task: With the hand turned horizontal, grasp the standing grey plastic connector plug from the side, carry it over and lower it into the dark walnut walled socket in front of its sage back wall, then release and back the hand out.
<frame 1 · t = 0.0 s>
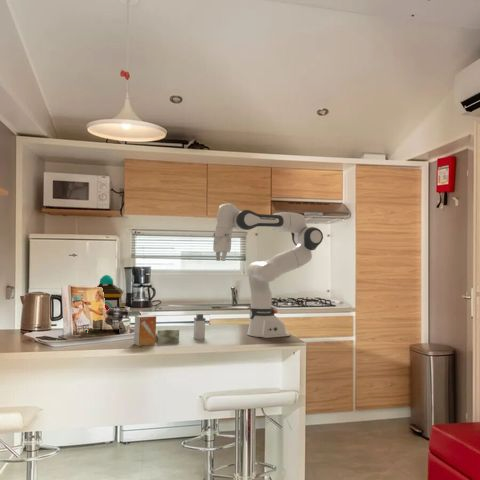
hand: (220, 260, 231), 39 cm above the counter, tool pointing down, fingers open, 8 cm apart
small box: (144, 344, 205), on the counter
decorative lantern: (104, 331, 239), on the counter
connector: (199, 338, 223), on the counter
socket: (166, 341, 214), on the counter
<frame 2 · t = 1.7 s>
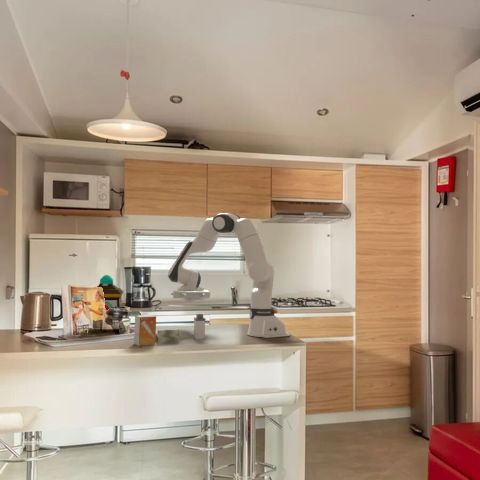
hand: (194, 295, 236), 20 cm above the counter, tool horizontal, fingers open, 8 cm apart
nothing on the counter moved.
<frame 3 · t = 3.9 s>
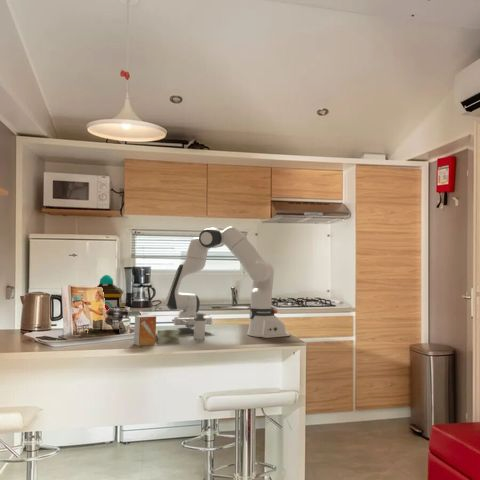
hand: (195, 322, 231), 6 cm above the counter, tool horizontal, fingers open, 8 cm apart
nothing on the counter moved.
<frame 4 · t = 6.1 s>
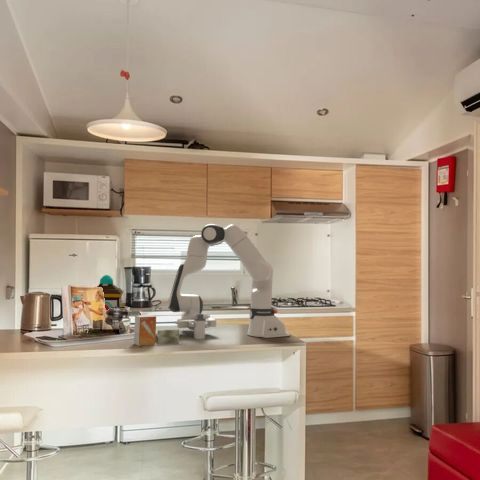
hand: (199, 325, 223), 7 cm above the counter, tool horizontal, fingers closed on connector, 4 cm apart
connector: (199, 338, 223), on the counter, touching gripper
everything else where it was.
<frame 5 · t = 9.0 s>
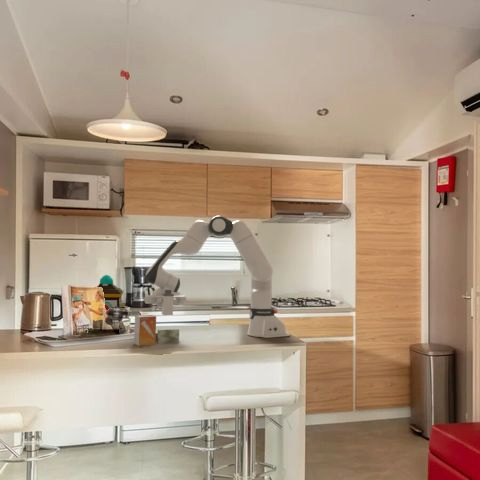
hand: (167, 301, 214), 19 cm above the counter, tool horizontal, fingers closed on connector, 4 cm apart
connector: (167, 314, 215), point 13 cm above the counter, touching gripper
everything else where it was.
when the fingers open (8 cm above the counter, at t = 11.9 s): connector drops 1 cm, resting on socket.
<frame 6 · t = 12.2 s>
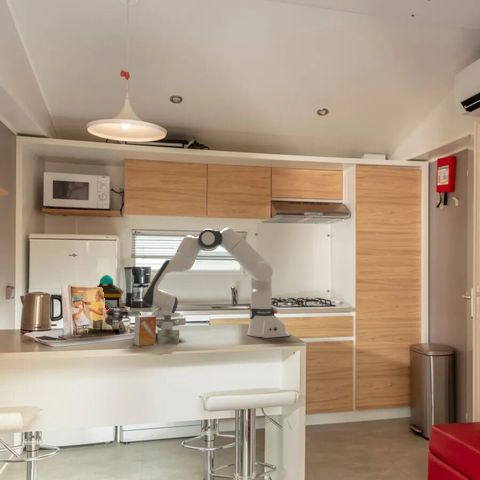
hand: (167, 323, 214), 8 cm above the counter, tool horizontal, fingers open, 8 cm apart
connector: (166, 339, 214), resting on socket
everything else where it was.
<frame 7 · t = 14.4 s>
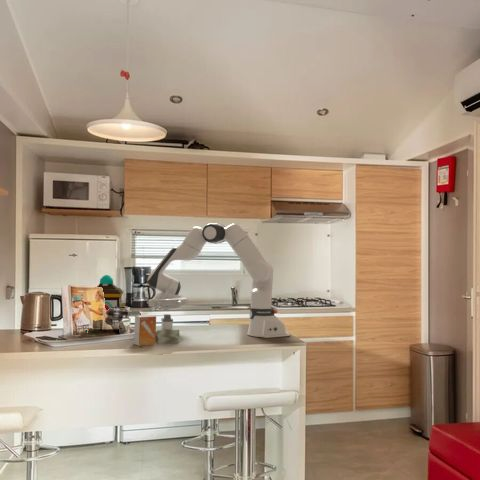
hand: (170, 303, 228), 16 cm above the counter, tool horizontal, fingers open, 8 cm apart
nothing on the counter moved.
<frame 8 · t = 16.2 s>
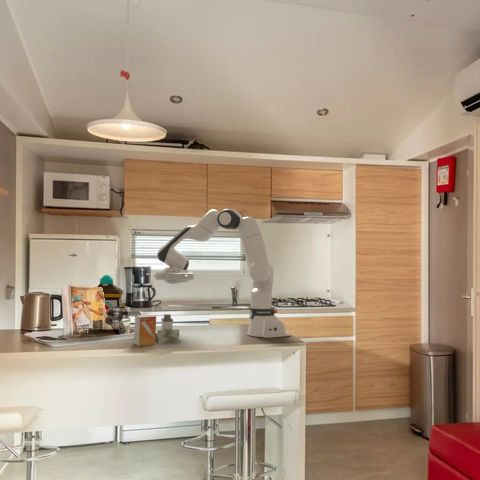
hand: (177, 276, 231), 30 cm above the counter, tool horizontal, fingers open, 8 cm apart
nothing on the counter moved.
at the end: connector 0.0 cm off-centre on the socket, point 0.5 cm above the socket's base; connector tilted 0°; the gripper is holding nothing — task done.
